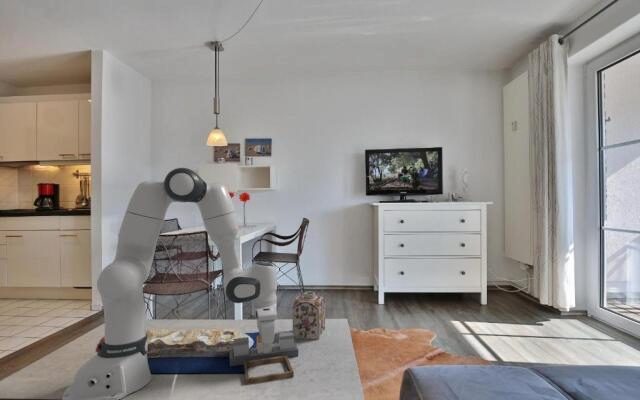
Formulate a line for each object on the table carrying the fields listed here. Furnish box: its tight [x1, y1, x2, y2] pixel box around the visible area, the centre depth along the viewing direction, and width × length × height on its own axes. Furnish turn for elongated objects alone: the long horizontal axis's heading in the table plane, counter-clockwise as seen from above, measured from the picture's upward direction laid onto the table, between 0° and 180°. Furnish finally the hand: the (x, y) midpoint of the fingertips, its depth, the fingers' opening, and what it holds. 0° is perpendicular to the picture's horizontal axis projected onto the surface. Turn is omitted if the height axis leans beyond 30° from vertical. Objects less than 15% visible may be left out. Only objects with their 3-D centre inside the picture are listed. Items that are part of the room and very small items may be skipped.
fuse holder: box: [229, 342, 299, 367], centre depth 114 cm, size 24×6×4 cm, turn 107°
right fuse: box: [278, 331, 295, 350], centre depth 116 cm, size 5×3×7 cm, turn 107°
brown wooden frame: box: [243, 356, 295, 385], centre depth 105 cm, size 15×12×2 cm
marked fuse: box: [256, 335, 273, 354], centre depth 114 cm, size 5×3×7 cm, turn 107°
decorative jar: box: [292, 291, 326, 340], centre depth 136 cm, size 12×12×18 cm
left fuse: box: [233, 337, 250, 357], centre depth 112 cm, size 5×3×7 cm, turn 107°
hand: (264, 346), depth 114 cm, fingers open, 7 cm apart
